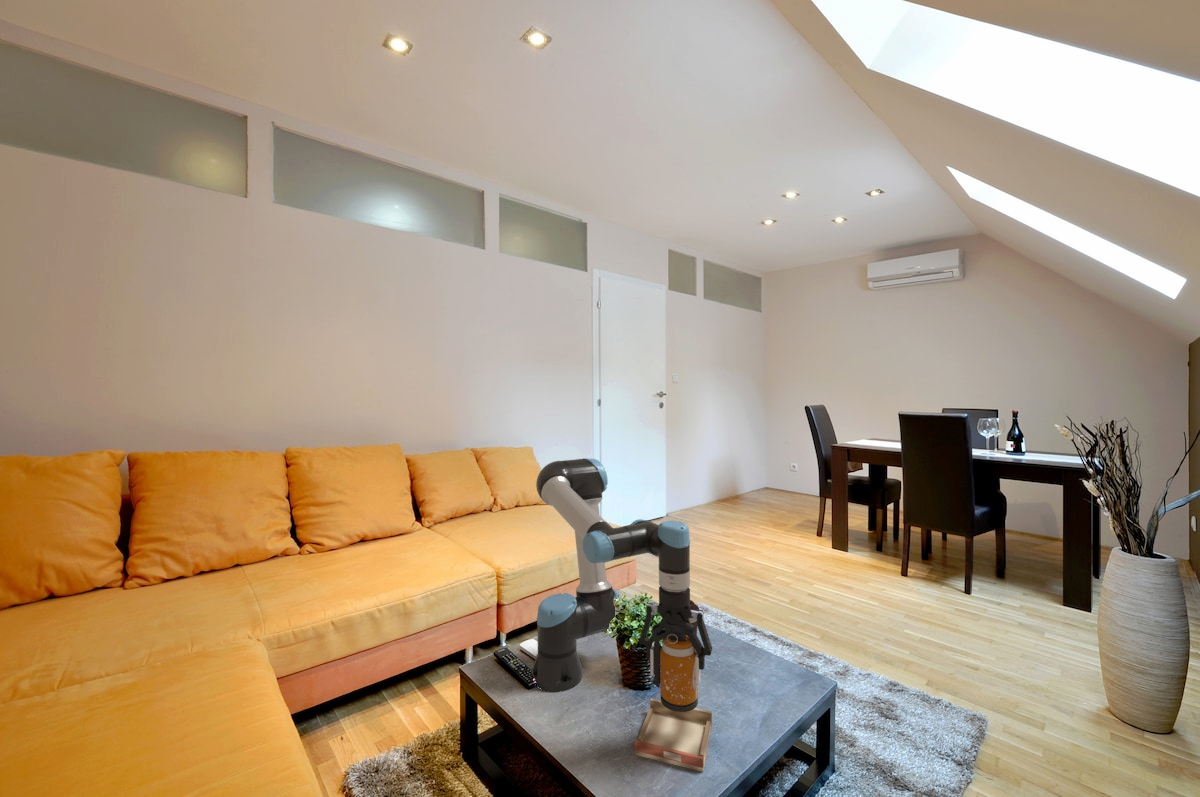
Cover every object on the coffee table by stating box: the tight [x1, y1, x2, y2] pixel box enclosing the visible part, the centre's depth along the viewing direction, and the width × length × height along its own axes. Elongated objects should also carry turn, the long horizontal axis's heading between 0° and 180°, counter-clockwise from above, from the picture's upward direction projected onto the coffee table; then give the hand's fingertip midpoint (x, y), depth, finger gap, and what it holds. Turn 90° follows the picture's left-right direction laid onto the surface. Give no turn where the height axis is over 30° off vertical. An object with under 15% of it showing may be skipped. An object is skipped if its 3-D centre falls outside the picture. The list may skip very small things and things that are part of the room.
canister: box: [650, 622, 699, 712], centre depth 118 cm, size 9×11×20 cm
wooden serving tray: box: [633, 698, 713, 773], centre depth 118 cm, size 16×16×4 cm
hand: (675, 677), depth 118 cm, fingers closed on canister, 10 cm apart
